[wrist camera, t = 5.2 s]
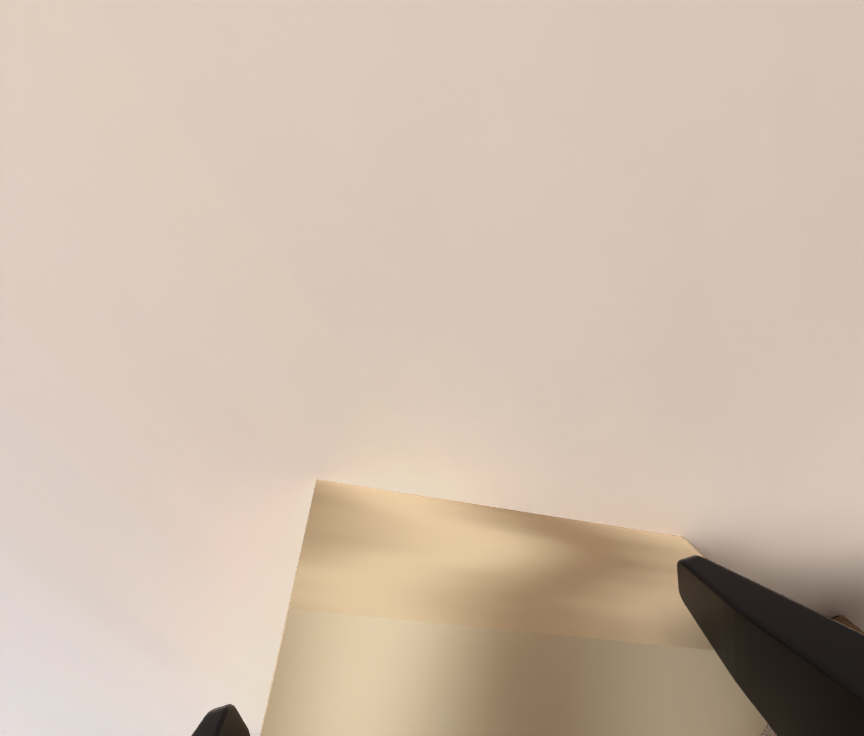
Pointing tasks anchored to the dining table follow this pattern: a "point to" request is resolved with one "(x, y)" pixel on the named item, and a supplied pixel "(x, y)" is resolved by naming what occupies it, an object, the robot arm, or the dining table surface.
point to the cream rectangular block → (491, 627)
